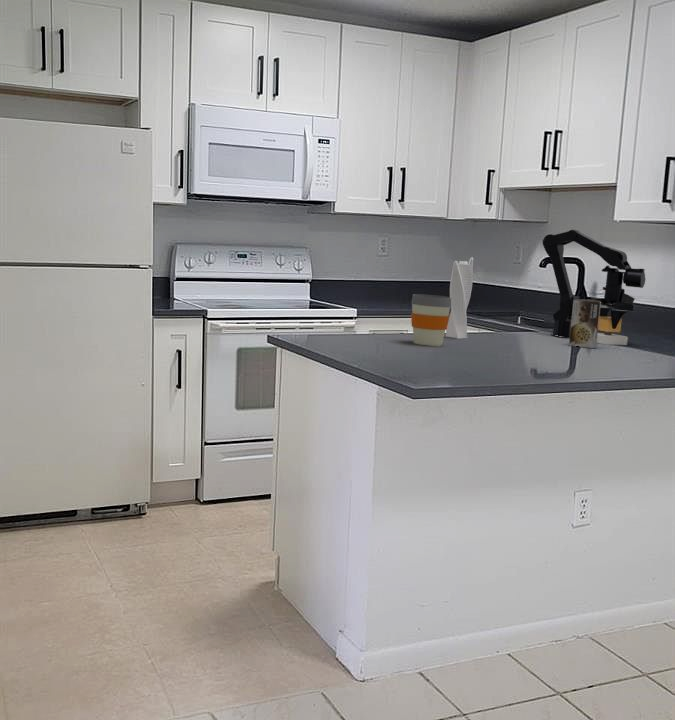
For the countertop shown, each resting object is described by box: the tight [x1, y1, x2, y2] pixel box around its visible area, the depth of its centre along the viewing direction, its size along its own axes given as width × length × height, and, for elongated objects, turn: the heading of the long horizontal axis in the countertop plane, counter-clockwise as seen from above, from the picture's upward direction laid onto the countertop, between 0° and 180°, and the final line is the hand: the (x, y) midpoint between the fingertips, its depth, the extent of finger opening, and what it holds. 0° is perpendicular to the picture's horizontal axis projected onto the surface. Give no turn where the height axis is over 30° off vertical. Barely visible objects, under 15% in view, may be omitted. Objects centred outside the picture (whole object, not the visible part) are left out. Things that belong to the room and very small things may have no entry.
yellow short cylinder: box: [598, 316, 623, 333], centre depth 314 cm, size 6×6×5 cm
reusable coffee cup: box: [410, 293, 451, 347], centre depth 268 cm, size 13×12×15 cm
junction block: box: [597, 331, 629, 346], centre depth 314 cm, size 10×10×7 cm
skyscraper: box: [444, 256, 475, 340], centre depth 292 cm, size 8×8×28 cm
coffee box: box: [568, 298, 601, 349], centre depth 295 cm, size 9×6×16 cm
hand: (608, 327), depth 314 cm, fingers closed on yellow short cylinder, 6 cm apart
